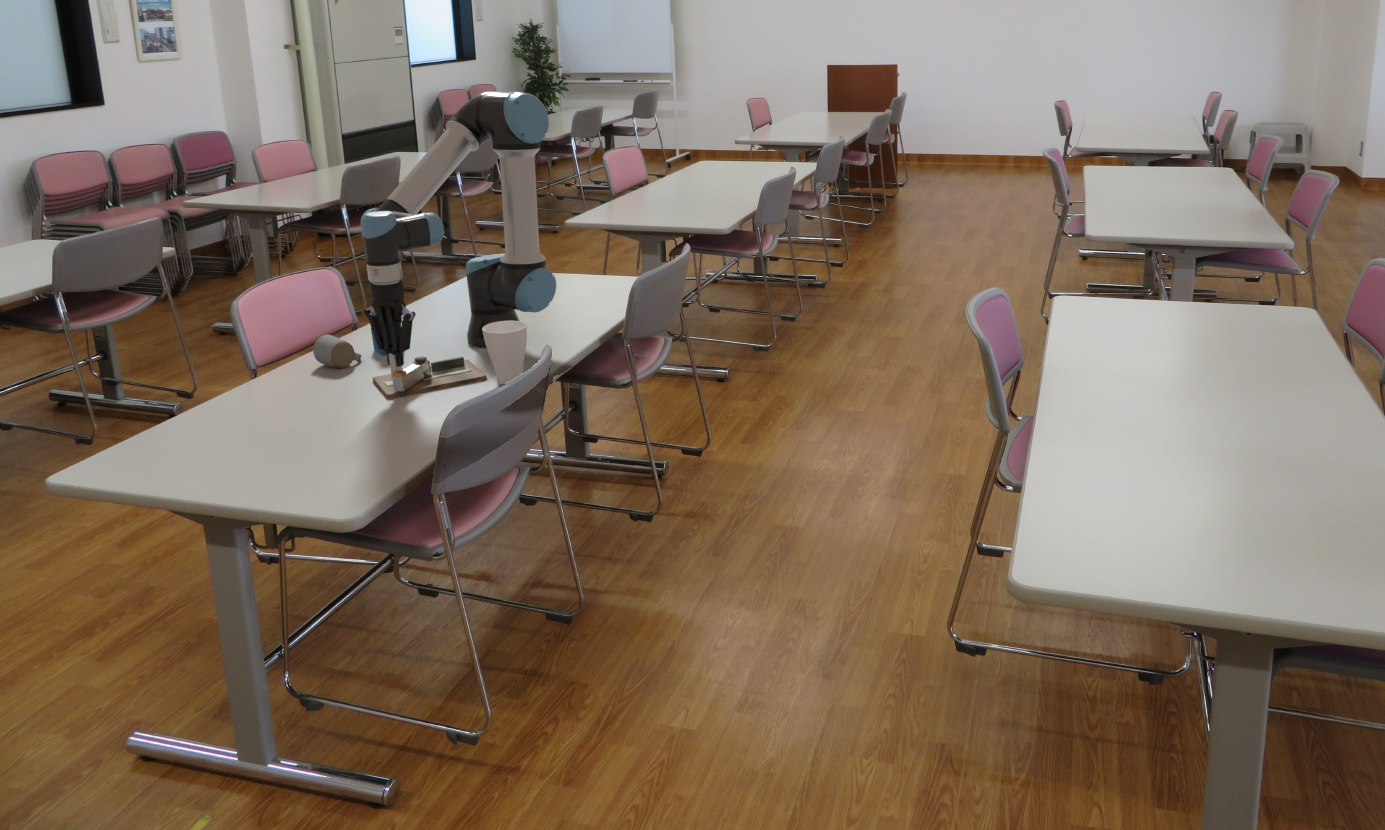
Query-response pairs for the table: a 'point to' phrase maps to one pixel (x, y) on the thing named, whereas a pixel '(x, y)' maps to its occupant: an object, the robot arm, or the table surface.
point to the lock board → (435, 377)
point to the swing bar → (410, 375)
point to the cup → (506, 348)
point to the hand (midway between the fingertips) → (397, 378)
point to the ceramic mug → (334, 352)
